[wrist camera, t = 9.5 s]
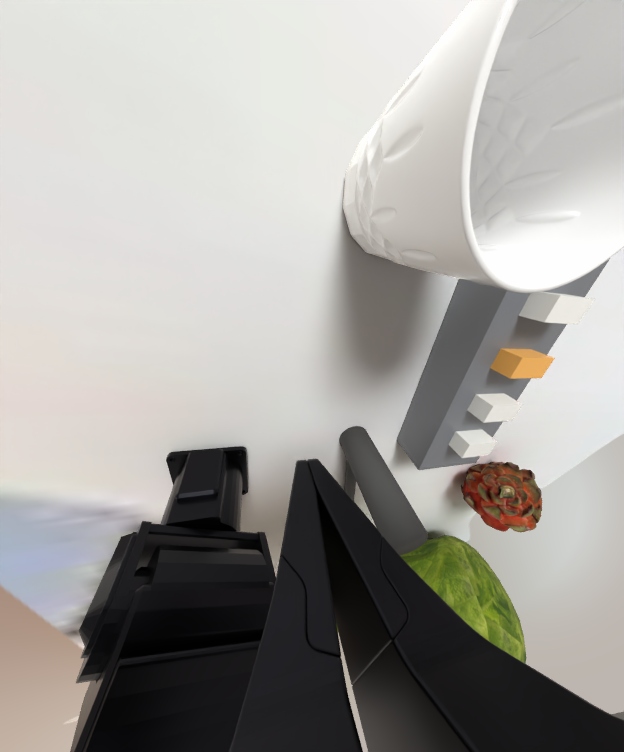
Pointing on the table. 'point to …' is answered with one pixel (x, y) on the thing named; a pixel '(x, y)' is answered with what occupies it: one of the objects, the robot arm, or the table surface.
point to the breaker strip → (485, 367)
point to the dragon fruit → (504, 496)
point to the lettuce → (470, 590)
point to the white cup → (501, 149)
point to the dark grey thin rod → (350, 482)
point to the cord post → (382, 493)
